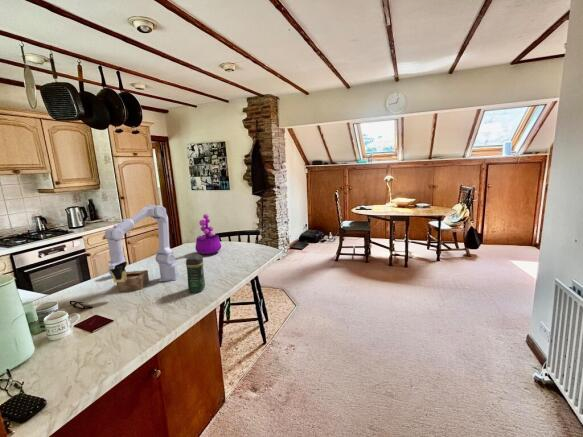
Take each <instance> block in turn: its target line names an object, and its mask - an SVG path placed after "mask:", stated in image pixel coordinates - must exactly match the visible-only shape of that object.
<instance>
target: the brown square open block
mask: <svg viewBox="0 0 583 437" xmlns="http://www.w3.org/2000/svg"><path fill="white" fill-rule="evenodd" d="M126 275H127V280H126V281H125V282H115V284H116V287H117V288H116V289H117V292H126V291H137V290H143V288H144V287H145V286H146V285H147V284H148V283H149V281H150V278H149V271H148V270H147V269H146V270H145V269H144V270H143V269H142V270H132V271H126Z"/></svg>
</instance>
